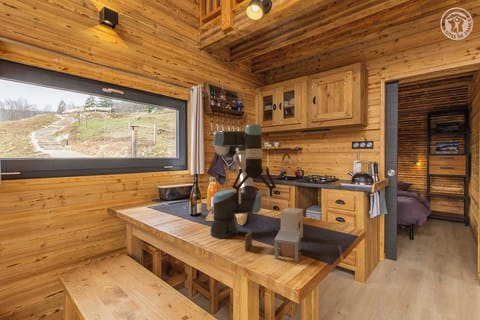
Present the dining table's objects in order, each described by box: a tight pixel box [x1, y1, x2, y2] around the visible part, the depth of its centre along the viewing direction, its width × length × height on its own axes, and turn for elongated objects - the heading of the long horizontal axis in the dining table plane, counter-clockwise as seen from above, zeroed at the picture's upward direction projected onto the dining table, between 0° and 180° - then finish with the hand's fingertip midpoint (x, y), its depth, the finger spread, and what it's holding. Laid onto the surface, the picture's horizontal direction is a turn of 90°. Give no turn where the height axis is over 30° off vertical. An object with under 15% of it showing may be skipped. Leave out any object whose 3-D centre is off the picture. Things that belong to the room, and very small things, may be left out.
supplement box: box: [280, 206, 304, 239], centre depth 113 cm, size 9×9×15 cm
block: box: [281, 243, 295, 257], centre depth 94 cm, size 5×5×6 cm
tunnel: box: [274, 228, 302, 263], centre depth 94 cm, size 9×13×9 cm
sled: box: [244, 230, 302, 260], centre depth 96 cm, size 23×7×8 cm, turn 70°
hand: (254, 203), depth 105 cm, fingers open, 13 cm apart
